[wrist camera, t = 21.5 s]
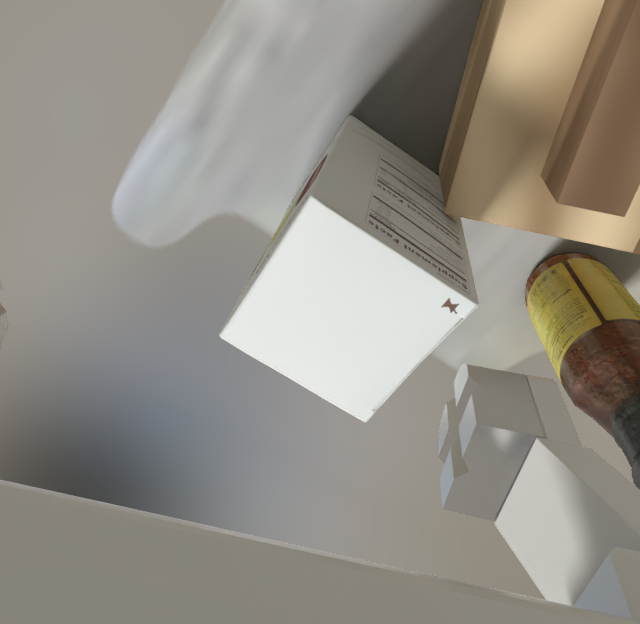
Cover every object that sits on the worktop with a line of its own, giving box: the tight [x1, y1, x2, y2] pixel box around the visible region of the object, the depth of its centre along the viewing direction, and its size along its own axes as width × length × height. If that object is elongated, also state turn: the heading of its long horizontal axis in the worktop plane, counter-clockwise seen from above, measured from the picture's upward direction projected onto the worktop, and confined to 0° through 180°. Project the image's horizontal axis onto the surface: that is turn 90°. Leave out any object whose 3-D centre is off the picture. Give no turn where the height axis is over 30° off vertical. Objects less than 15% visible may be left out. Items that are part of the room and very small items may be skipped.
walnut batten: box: [540, 0, 640, 217], centre depth 24 cm, size 3×10×4 cm, turn 171°
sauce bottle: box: [525, 253, 640, 489], centre depth 33 cm, size 7×6×20 cm
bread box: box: [438, 0, 504, 207], centre depth 30 cm, size 11×17×8 cm
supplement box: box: [220, 115, 479, 422], centre depth 33 cm, size 10×9×17 cm
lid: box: [445, 0, 640, 255], centre depth 26 cm, size 11×17×1 cm
